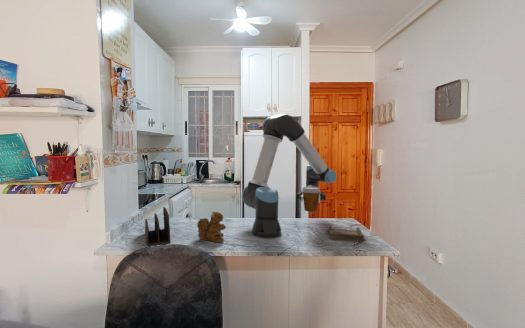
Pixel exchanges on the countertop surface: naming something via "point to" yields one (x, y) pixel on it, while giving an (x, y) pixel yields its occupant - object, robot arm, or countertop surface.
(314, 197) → the disposable coffee cup
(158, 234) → the letter holder
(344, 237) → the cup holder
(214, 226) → the stuffed squirrel
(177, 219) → the countertop surface
